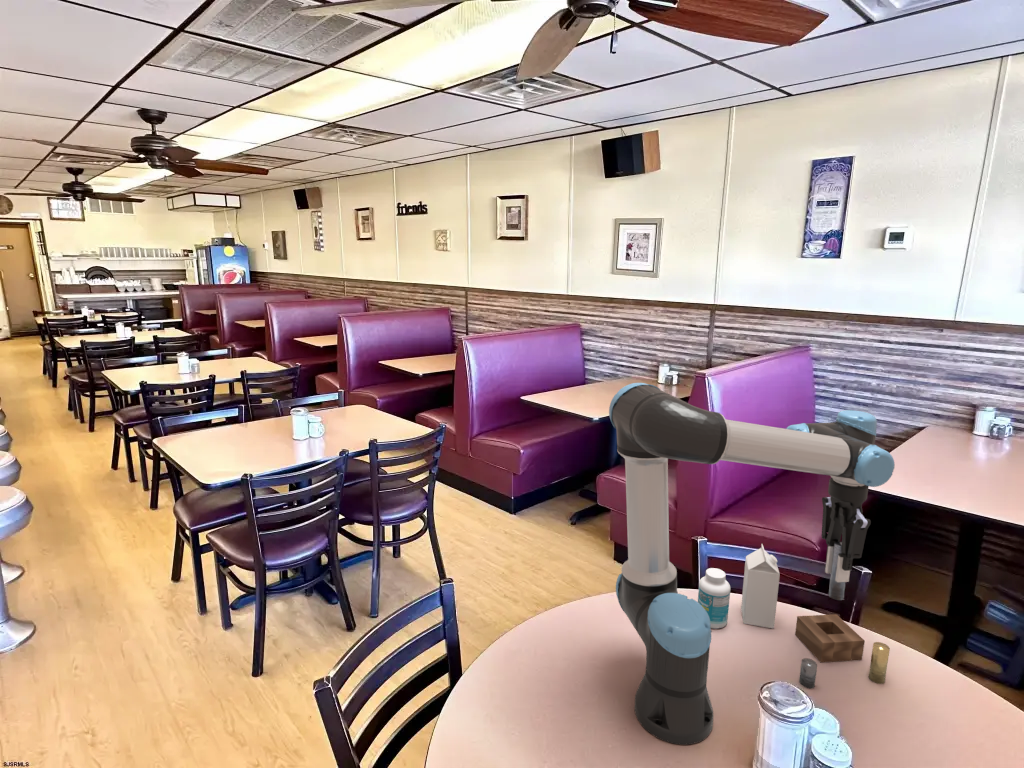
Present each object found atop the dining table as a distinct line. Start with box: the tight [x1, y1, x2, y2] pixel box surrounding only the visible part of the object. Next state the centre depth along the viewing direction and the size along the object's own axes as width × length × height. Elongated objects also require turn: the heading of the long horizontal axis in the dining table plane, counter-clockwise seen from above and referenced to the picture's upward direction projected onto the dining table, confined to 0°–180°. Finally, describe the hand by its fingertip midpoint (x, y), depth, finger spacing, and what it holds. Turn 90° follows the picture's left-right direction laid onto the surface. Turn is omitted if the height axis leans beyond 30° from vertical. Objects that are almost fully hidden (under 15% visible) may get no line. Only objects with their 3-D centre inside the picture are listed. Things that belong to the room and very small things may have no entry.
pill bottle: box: [697, 567, 731, 630], centre depth 142 cm, size 8×7×14 cm
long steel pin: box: [828, 541, 846, 601], centre depth 130 cm, size 3×3×13 cm
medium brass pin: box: [868, 641, 891, 685], centre depth 123 cm, size 3×3×8 cm
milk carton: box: [740, 543, 781, 629], centre depth 143 cm, size 7×7×19 cm
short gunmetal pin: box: [798, 657, 818, 689], centre depth 121 cm, size 3×3×5 cm
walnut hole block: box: [794, 613, 865, 663], centre depth 133 cm, size 10×10×5 cm
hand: (836, 576), depth 130 cm, fingers closed on long steel pin, 3 cm apart
